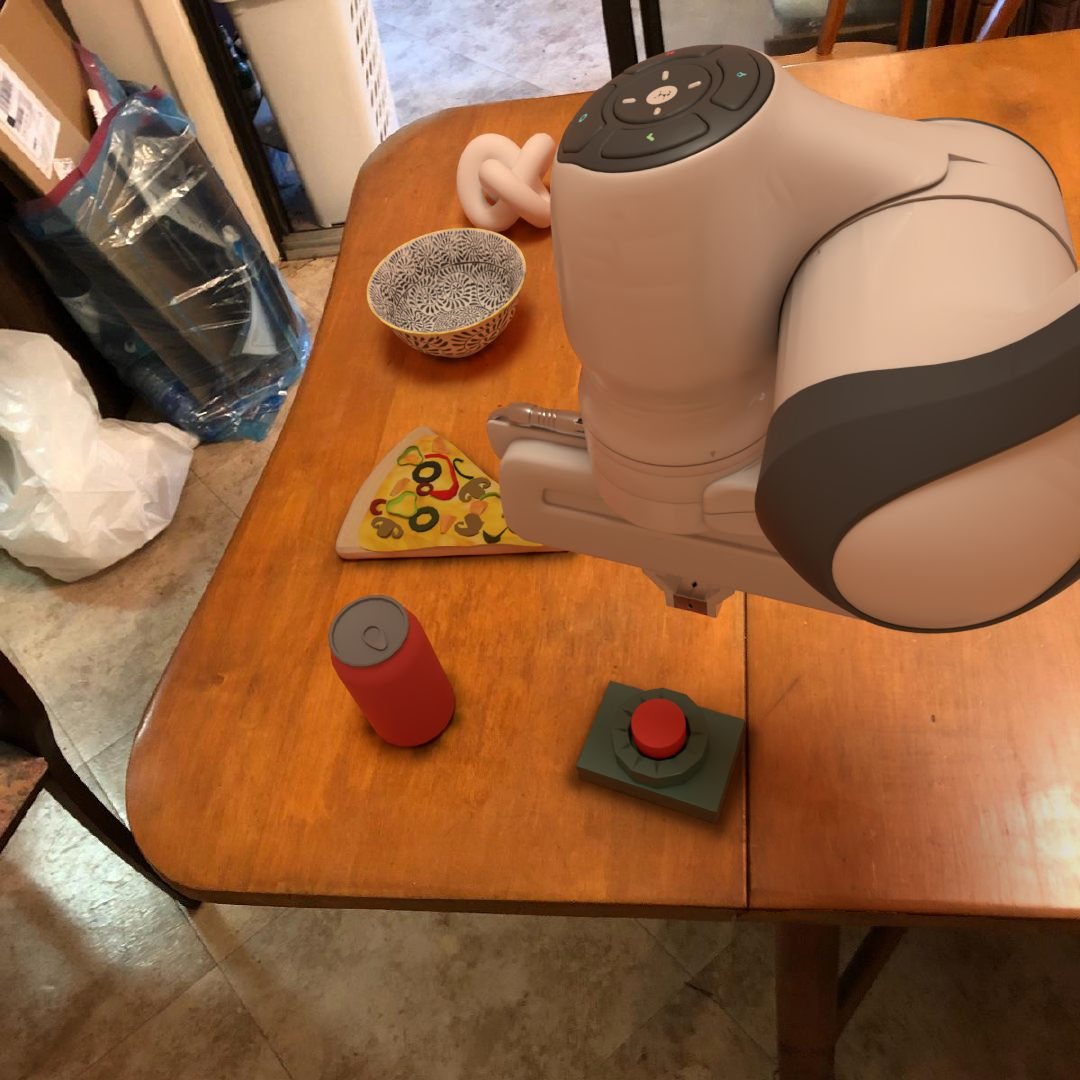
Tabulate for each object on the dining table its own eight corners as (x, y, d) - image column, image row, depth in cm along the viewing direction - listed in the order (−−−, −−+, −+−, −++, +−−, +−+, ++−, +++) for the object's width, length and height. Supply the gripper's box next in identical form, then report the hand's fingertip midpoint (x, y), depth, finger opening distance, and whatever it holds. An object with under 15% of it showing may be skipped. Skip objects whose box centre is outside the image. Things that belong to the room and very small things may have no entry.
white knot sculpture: (455, 252, 106) (436, 181, 99) (474, 189, 113) (458, 119, 106) (553, 248, 104) (540, 175, 97) (566, 184, 111) (556, 112, 104)
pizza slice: (412, 431, 90) (404, 409, 88) (609, 484, 82) (606, 461, 80) (324, 555, 82) (313, 535, 80) (533, 625, 75) (527, 605, 72)
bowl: (569, 316, 97) (559, 255, 91) (467, 412, 91) (449, 353, 85) (457, 269, 104) (441, 210, 98) (356, 355, 98) (333, 298, 92)
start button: (693, 718, 64) (692, 707, 63) (676, 765, 62) (675, 754, 61) (642, 703, 65) (641, 692, 64) (625, 749, 64) (623, 738, 62)
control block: (744, 733, 67) (746, 707, 64) (716, 824, 63) (716, 802, 60) (612, 694, 70) (607, 667, 67) (579, 778, 67) (572, 755, 63)
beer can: (403, 767, 69) (352, 691, 60) (357, 708, 73) (302, 628, 63) (473, 711, 71) (435, 628, 62) (425, 656, 75) (381, 571, 65)
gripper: (451, 445, 44) (508, 603, 55) (907, 537, 37) (868, 699, 48) (504, 354, 47) (548, 521, 58) (933, 423, 40) (891, 599, 51)
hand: (695, 602), depth 53 cm, fingers closed
